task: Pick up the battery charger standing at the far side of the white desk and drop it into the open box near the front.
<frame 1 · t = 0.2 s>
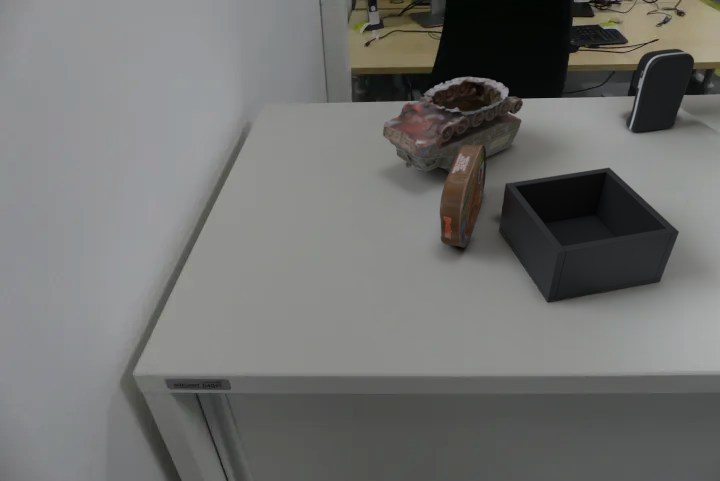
decorative box: (457, 165, 79), on the table
open box: (574, 254, 63), on the table
tin: (461, 223, 69), on the table
battery charger: (645, 127, 85), on the table
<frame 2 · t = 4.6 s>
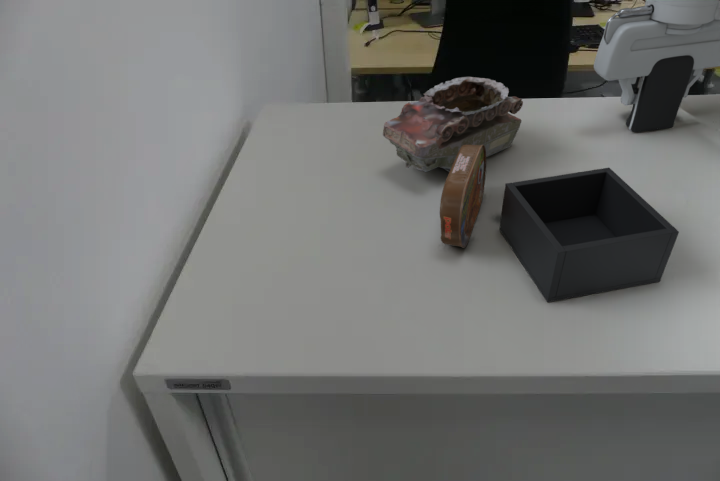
hand: (653, 100, 83), 4 cm above the table, tool pointing down, fingers closed on battery charger, 7 cm apart
battery charger: (645, 127, 85), on the table, touching gripper
everything else where it was.
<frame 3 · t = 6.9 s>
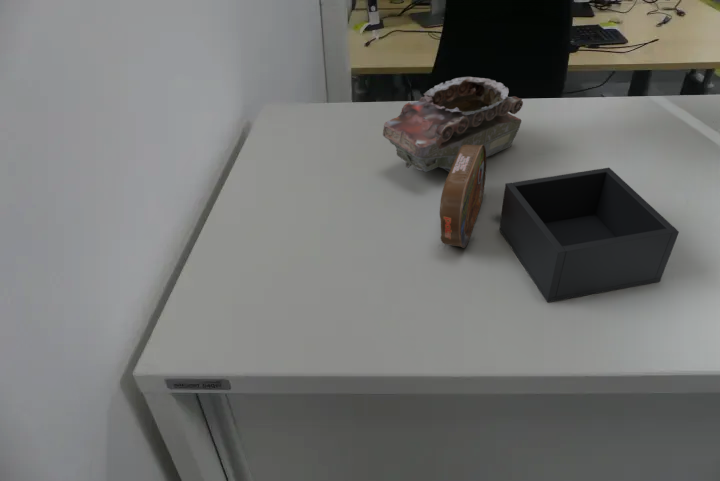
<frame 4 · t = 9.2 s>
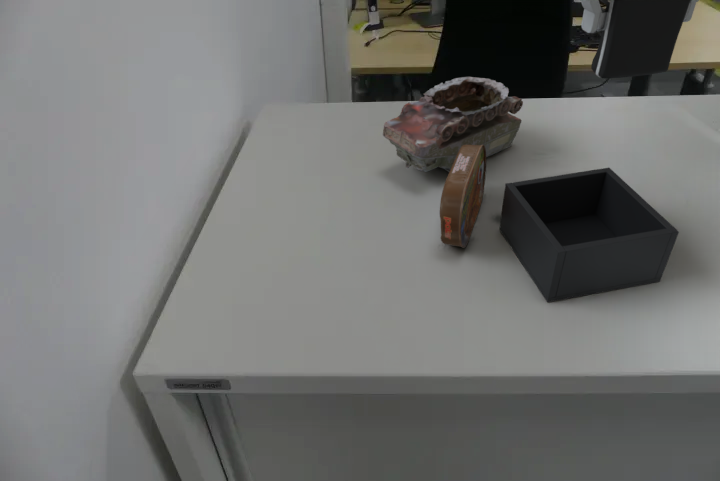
hand: (635, 25, 50), 24 cm above the table, tool pointing down, fingers closed on battery charger, 7 cm apart
battery charger: (623, 72, 53), point 20 cm above the table, touching gripper
everything else where it was.
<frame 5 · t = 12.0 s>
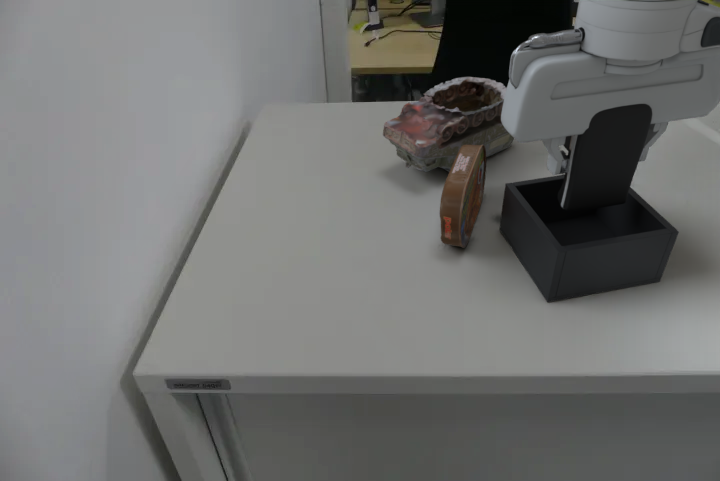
hand: (595, 165, 56), 11 cm above the table, tool pointing down, fingers closed on battery charger, 7 cm apart
battery charger: (586, 201, 58), point 7 cm above the table, touching gripper
everything else where it was.
when the fingers open (5 cm above the table, at t = 14.3 s): battery charger stays where it is, resting on open box.
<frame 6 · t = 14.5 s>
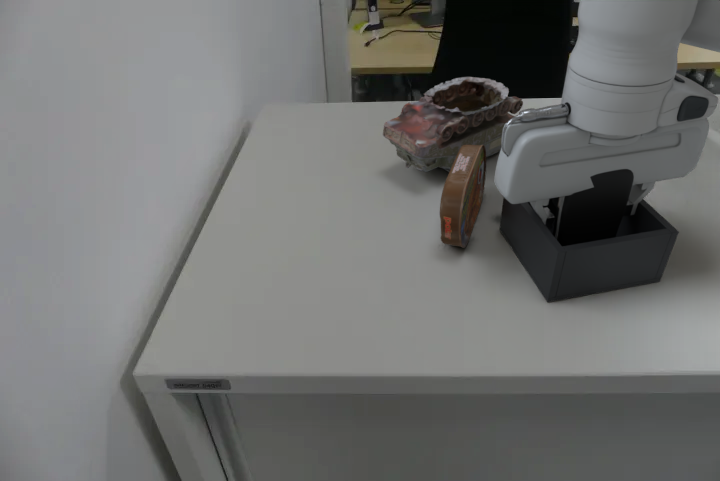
hand: (583, 219, 60), 5 cm above the table, tool pointing down, fingers open, 8 cm apart
battery charger: (574, 251, 62), resting on open box
everything else where it was.
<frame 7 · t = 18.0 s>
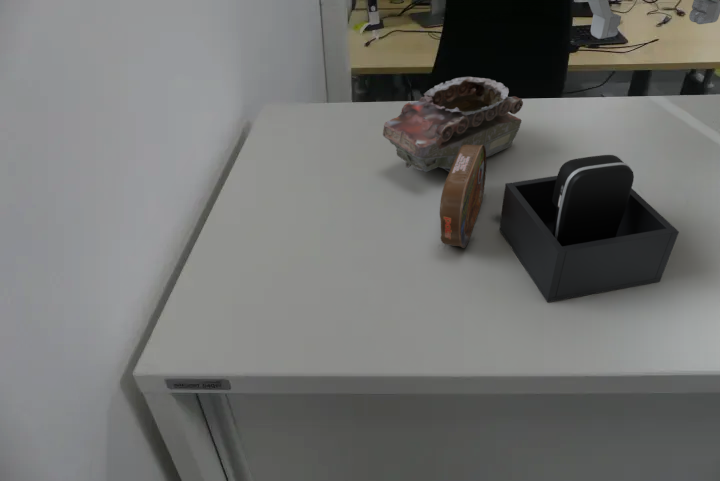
hand: (653, 28, 48), 24 cm above the table, tool pointing down, fingers open, 8 cm apart
nothing on the table moved.
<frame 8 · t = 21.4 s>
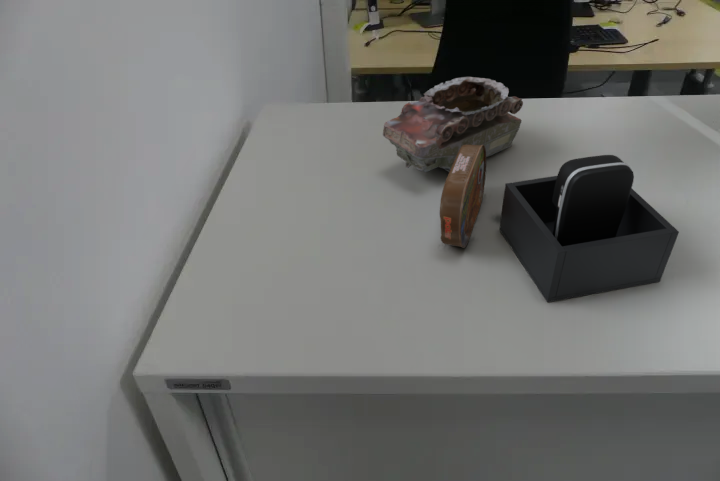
nothing on the table moved.
at the end: battery charger inside the target area in the open box (0.1 cm from its centre), point 0.4 cm above the open box's base; the gripper is holding nothing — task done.
